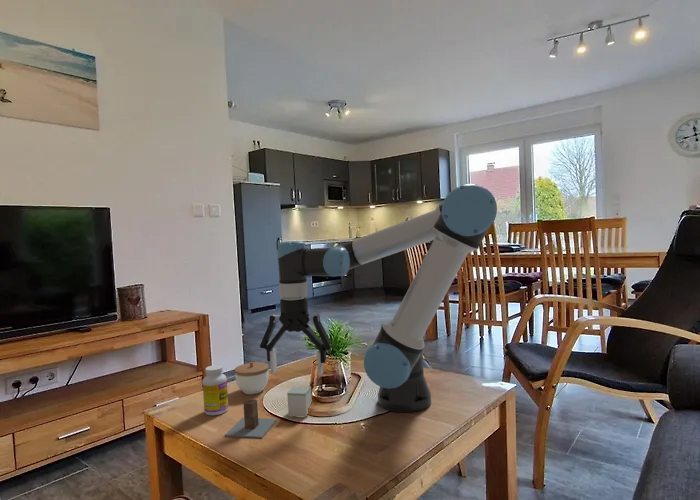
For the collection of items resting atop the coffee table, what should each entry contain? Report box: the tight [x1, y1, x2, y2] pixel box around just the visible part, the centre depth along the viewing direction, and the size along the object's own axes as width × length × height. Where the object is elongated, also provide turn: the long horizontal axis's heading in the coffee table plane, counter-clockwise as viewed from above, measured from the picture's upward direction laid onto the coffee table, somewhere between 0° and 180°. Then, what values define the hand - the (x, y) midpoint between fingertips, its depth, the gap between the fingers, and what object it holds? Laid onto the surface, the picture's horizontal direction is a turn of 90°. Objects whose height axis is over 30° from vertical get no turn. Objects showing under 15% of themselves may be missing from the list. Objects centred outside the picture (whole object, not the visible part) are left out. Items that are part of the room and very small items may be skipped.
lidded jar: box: [234, 361, 270, 395], centre depth 139 cm, size 11×11×9 cm
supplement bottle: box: [202, 364, 229, 416], centre depth 124 cm, size 7×7×13 cm
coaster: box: [224, 416, 278, 439], centre depth 112 cm, size 10×10×1 cm
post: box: [243, 399, 259, 429], centre depth 112 cm, size 3×3×7 cm
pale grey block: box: [286, 385, 313, 417], centre depth 120 cm, size 5×5×7 cm
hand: (297, 373), depth 119 cm, fingers open, 13 cm apart
